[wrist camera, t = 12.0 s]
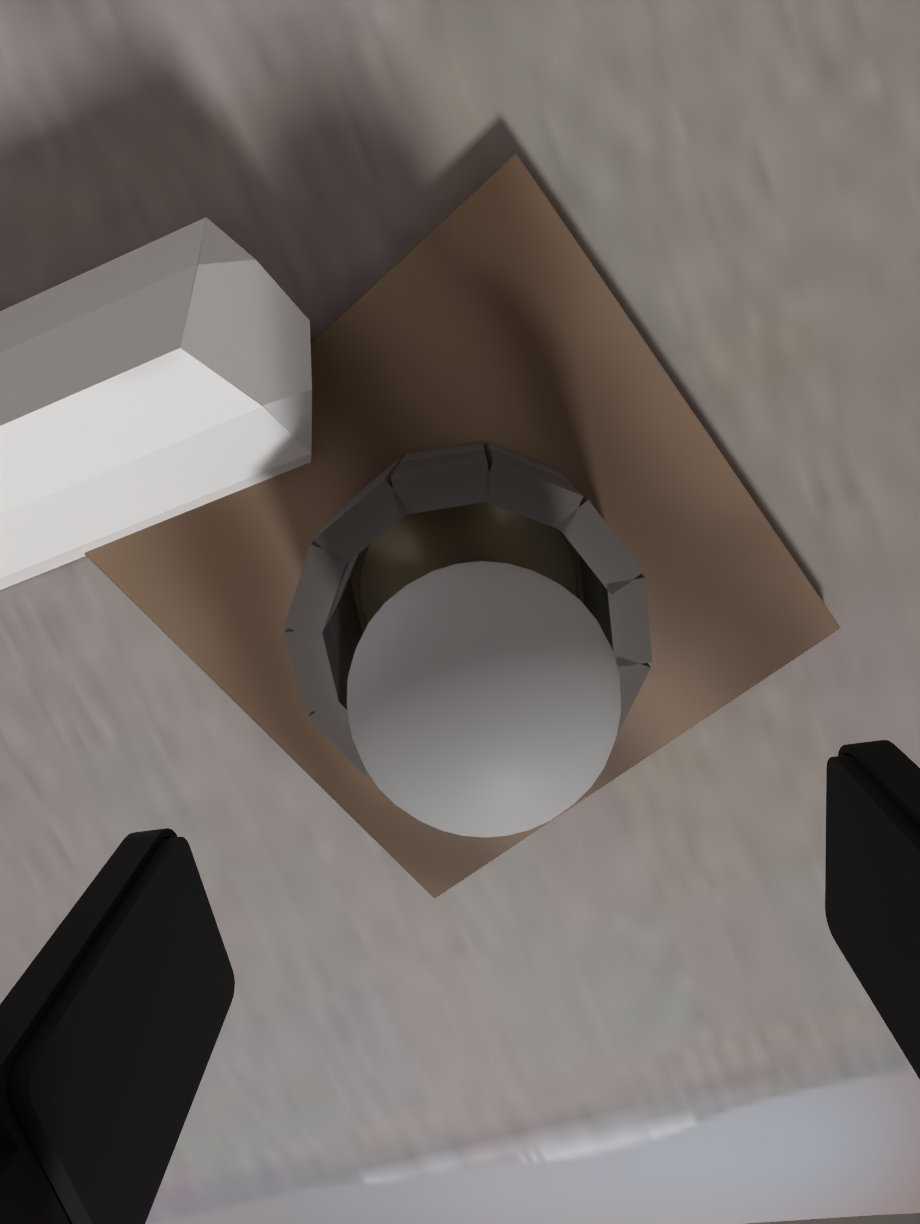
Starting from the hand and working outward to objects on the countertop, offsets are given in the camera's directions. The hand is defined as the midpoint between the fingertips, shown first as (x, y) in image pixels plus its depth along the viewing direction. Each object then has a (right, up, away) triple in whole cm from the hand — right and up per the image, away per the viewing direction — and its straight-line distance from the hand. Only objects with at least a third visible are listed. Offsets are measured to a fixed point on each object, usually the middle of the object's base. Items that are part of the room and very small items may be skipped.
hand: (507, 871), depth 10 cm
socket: (0, +5, +14) cm, 15 cm away
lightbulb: (0, +5, +13) cm, 14 cm away
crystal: (-16, +9, +14) cm, 23 cm away
